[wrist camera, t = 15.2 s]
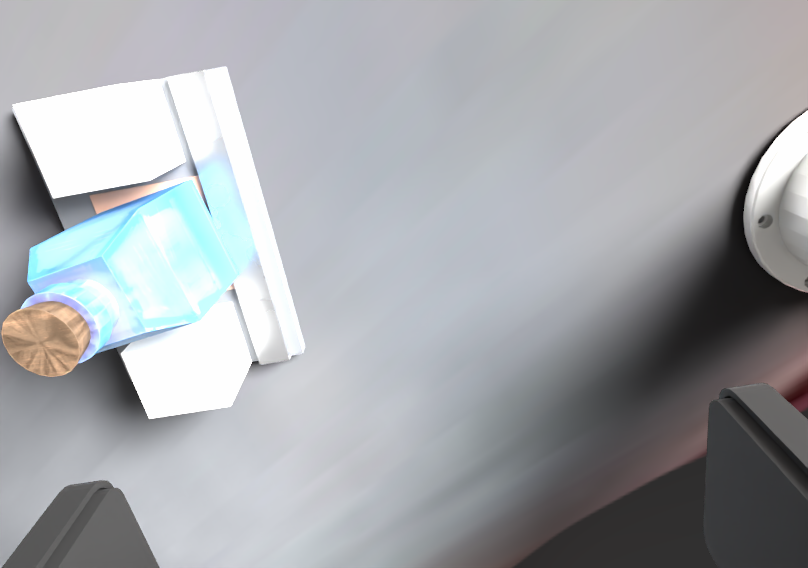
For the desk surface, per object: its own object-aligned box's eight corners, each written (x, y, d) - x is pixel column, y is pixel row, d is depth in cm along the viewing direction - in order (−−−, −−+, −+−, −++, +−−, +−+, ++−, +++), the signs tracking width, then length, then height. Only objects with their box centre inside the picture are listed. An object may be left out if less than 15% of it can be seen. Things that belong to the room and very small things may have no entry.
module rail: (305, 346, 38) (288, 397, 32) (137, 373, 38) (92, 427, 33) (226, 66, 31) (188, 70, 25) (22, 105, 31) (-58, 118, 26)
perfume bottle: (191, 178, 32) (61, 252, 21) (239, 274, 34) (145, 385, 23) (100, 212, 33) (-70, 299, 22) (152, 302, 35) (23, 422, 24)
